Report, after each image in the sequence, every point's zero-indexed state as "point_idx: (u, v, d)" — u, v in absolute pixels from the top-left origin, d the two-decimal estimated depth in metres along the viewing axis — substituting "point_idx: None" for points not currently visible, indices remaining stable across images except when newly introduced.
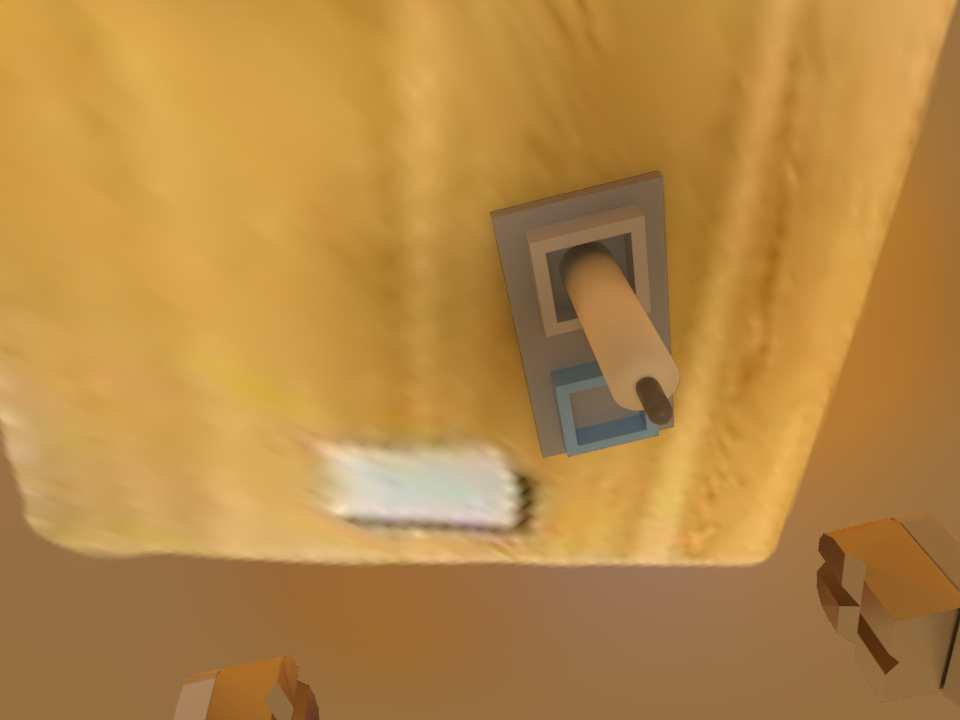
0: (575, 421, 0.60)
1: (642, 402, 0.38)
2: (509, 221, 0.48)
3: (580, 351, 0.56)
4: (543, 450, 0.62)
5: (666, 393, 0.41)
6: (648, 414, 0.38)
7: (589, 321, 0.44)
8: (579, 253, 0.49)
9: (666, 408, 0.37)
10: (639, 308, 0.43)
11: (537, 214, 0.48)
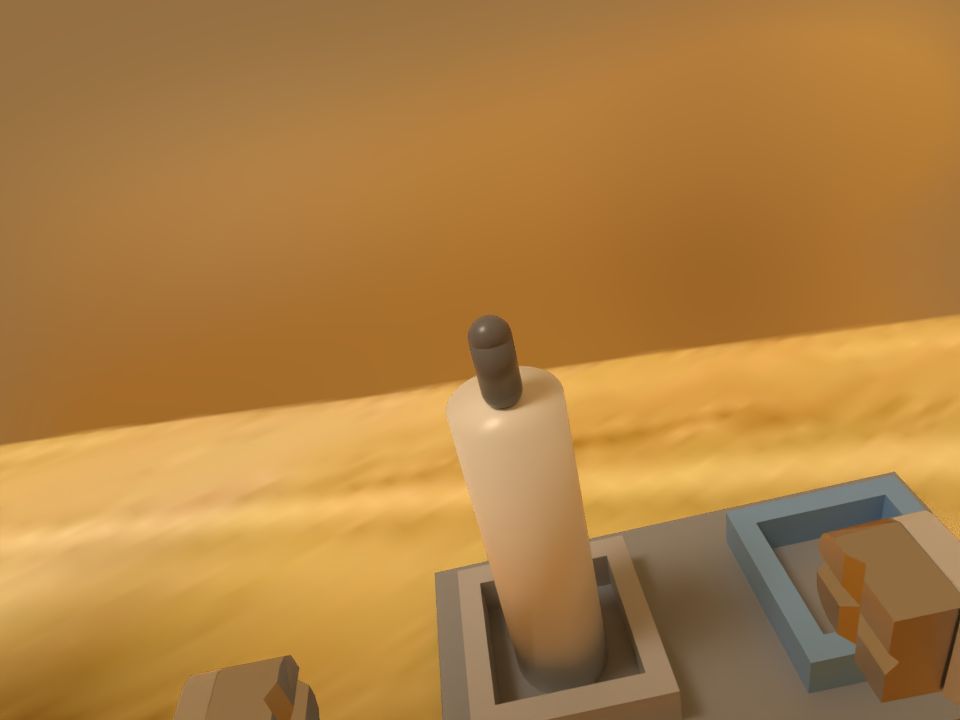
0: None
1: (491, 372, 0.22)
2: None
3: (745, 642, 0.29)
4: None
5: (531, 373, 0.24)
6: (487, 346, 0.21)
7: (511, 561, 0.25)
8: (517, 655, 0.30)
9: None
10: None
11: None
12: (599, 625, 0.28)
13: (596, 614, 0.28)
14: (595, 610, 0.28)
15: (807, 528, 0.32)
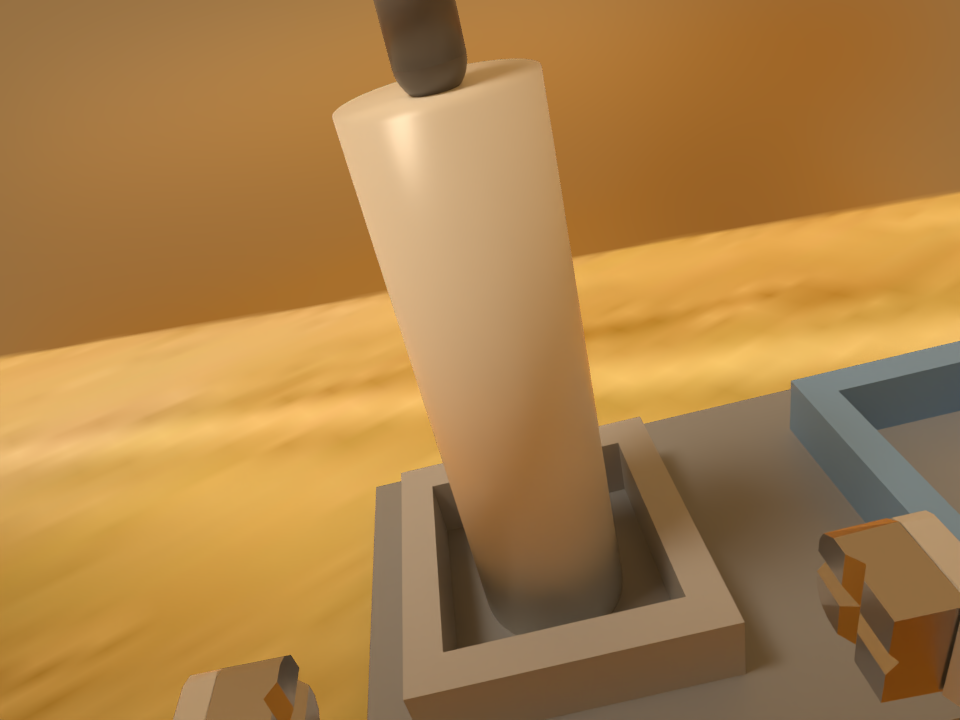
0: None
1: None
2: None
3: None
4: None
5: (488, 64, 0.14)
6: None
7: (459, 397, 0.15)
8: (483, 583, 0.19)
9: None
10: None
11: (387, 712, 0.18)
12: (609, 529, 0.18)
13: (604, 509, 0.18)
14: (603, 501, 0.17)
15: (912, 401, 0.22)
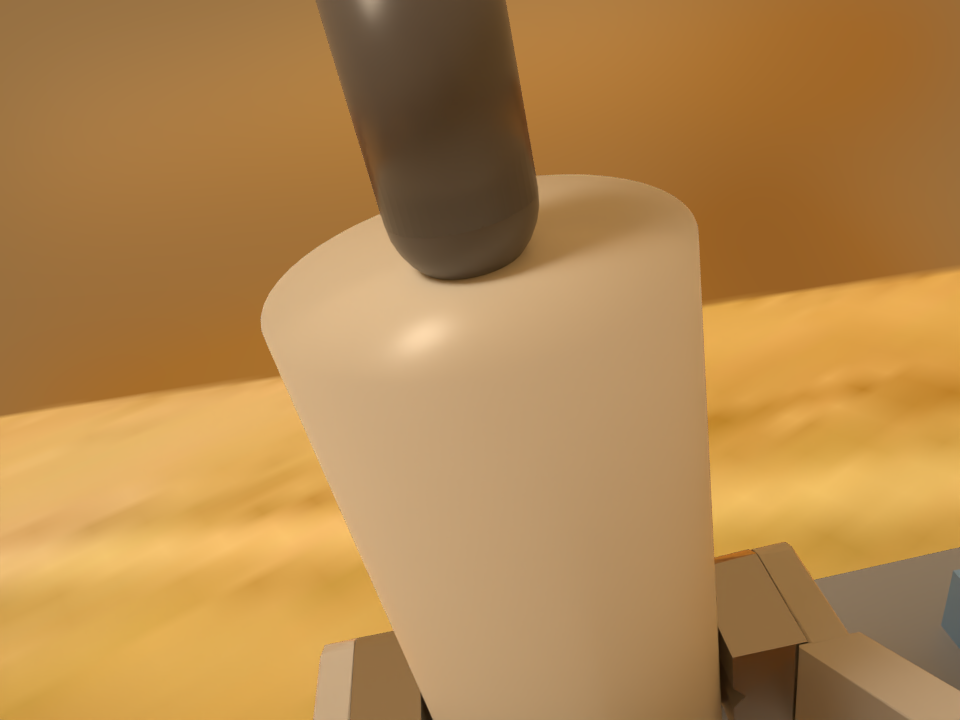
0: None
1: (406, 91, 0.05)
2: None
3: None
4: None
5: (567, 186, 0.07)
6: None
7: None
8: None
9: None
10: None
11: None
12: None
13: None
14: None
15: None
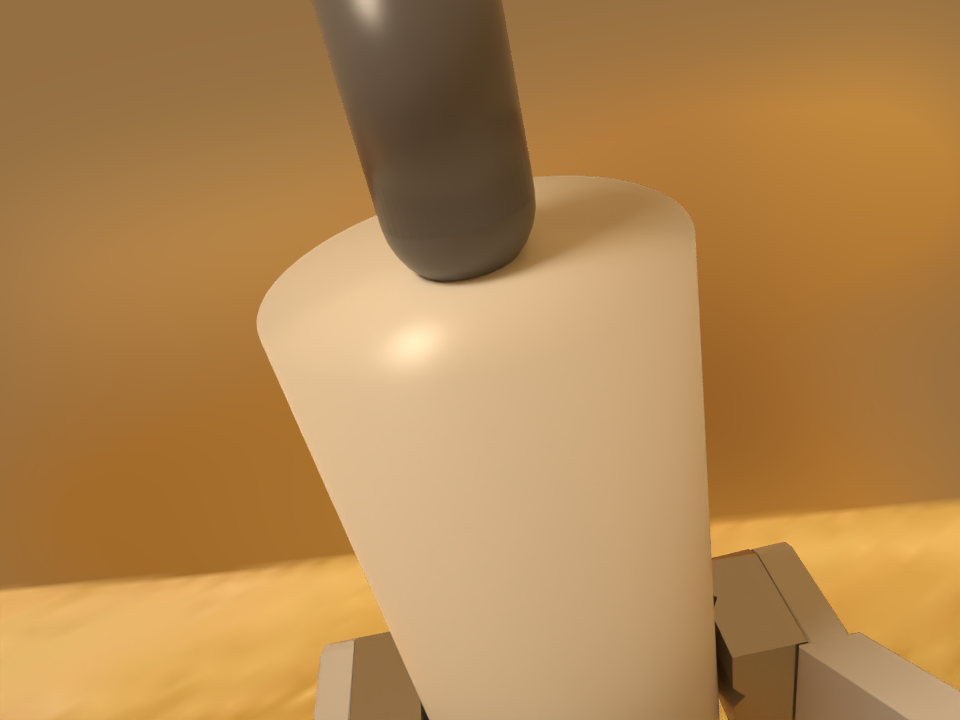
0: None
1: (402, 94, 0.05)
2: None
3: None
4: None
5: (564, 187, 0.07)
6: None
7: None
8: None
9: None
10: None
11: None
12: None
13: None
14: None
15: None
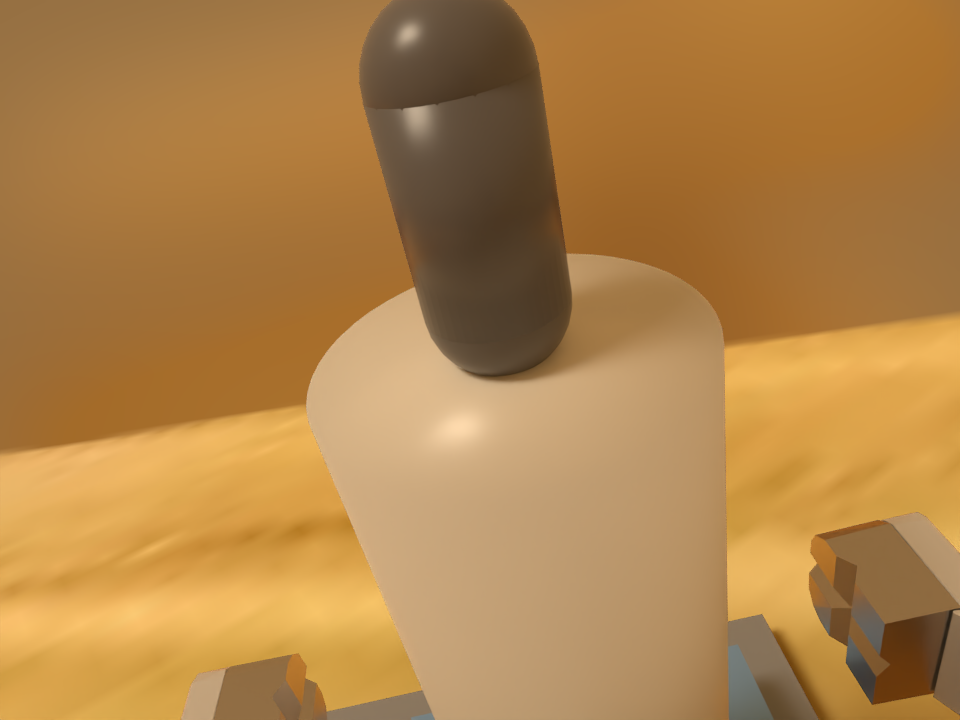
0: None
1: (456, 219, 0.05)
2: None
3: None
4: None
5: (594, 270, 0.08)
6: (435, 88, 0.05)
7: None
8: None
9: None
10: None
11: None
12: None
13: None
14: None
15: None
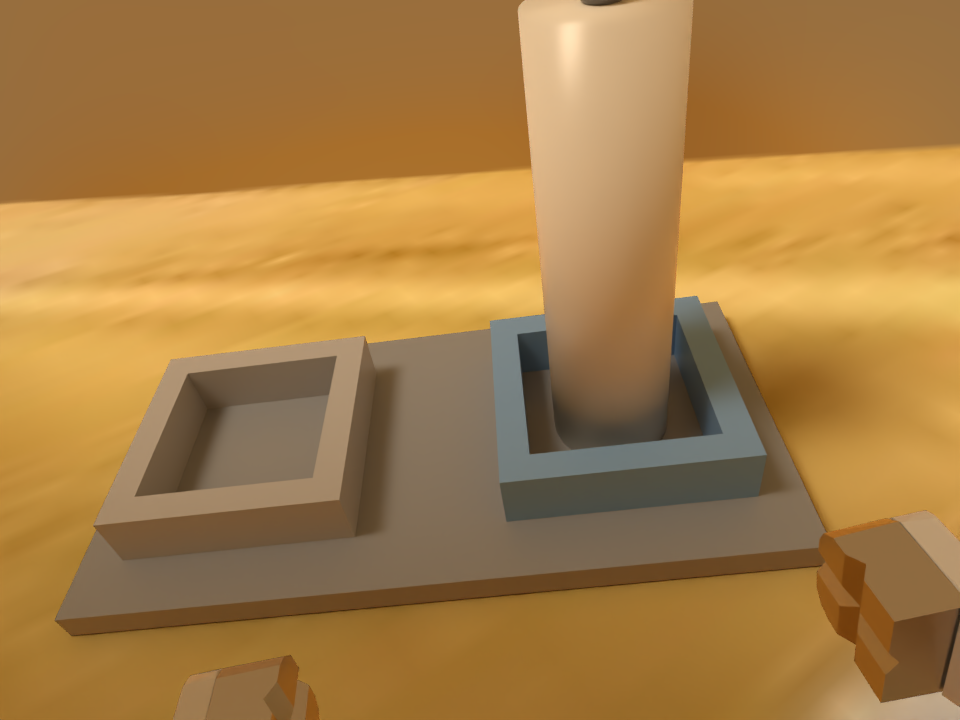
0: None
1: None
2: (85, 586, 0.23)
3: (465, 462, 0.25)
4: (799, 544, 0.21)
5: None
6: None
7: (579, 254, 0.19)
8: (557, 411, 0.24)
9: None
10: None
11: None
12: (667, 378, 0.23)
13: (667, 360, 0.22)
14: (667, 354, 0.22)
15: None
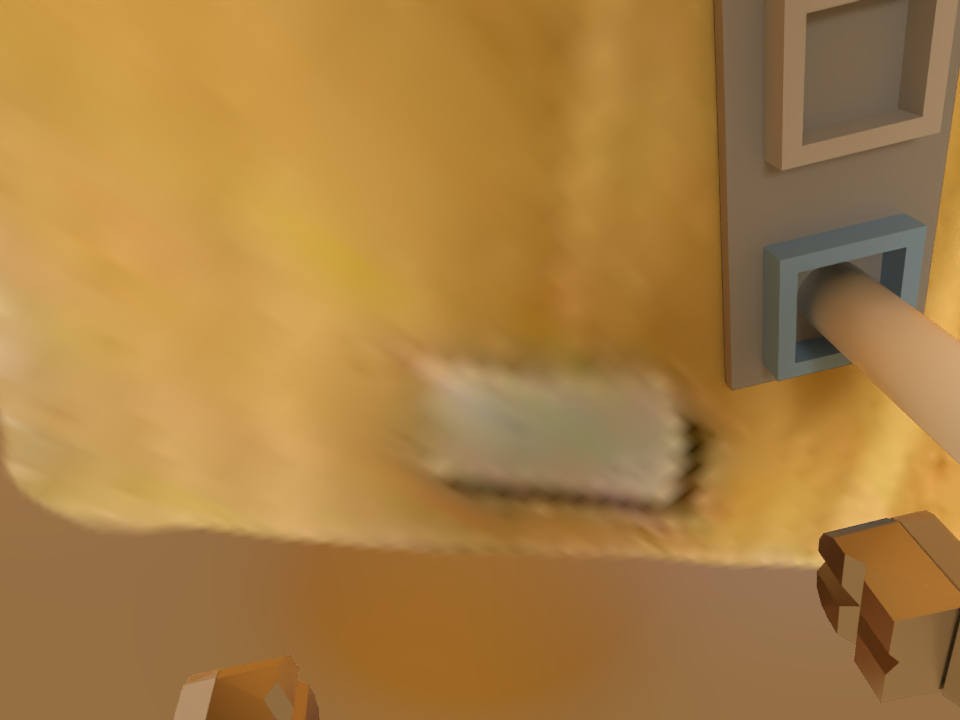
0: None
1: None
2: None
3: (810, 213, 0.38)
4: (734, 378, 0.44)
5: None
6: None
7: (886, 357, 0.34)
8: (833, 275, 0.39)
9: None
10: (957, 339, 0.33)
11: None
12: None
13: None
14: None
15: (889, 278, 0.40)
